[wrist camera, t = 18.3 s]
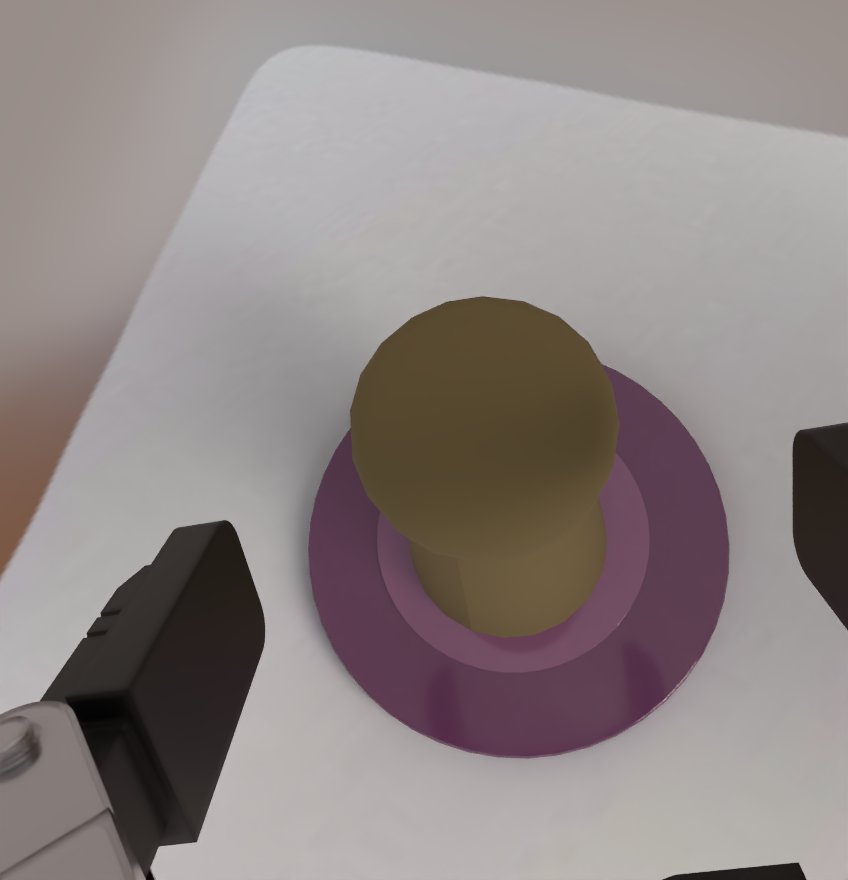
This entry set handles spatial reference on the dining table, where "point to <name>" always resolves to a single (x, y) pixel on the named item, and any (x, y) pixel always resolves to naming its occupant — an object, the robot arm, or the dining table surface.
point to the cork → (491, 459)
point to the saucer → (556, 649)
